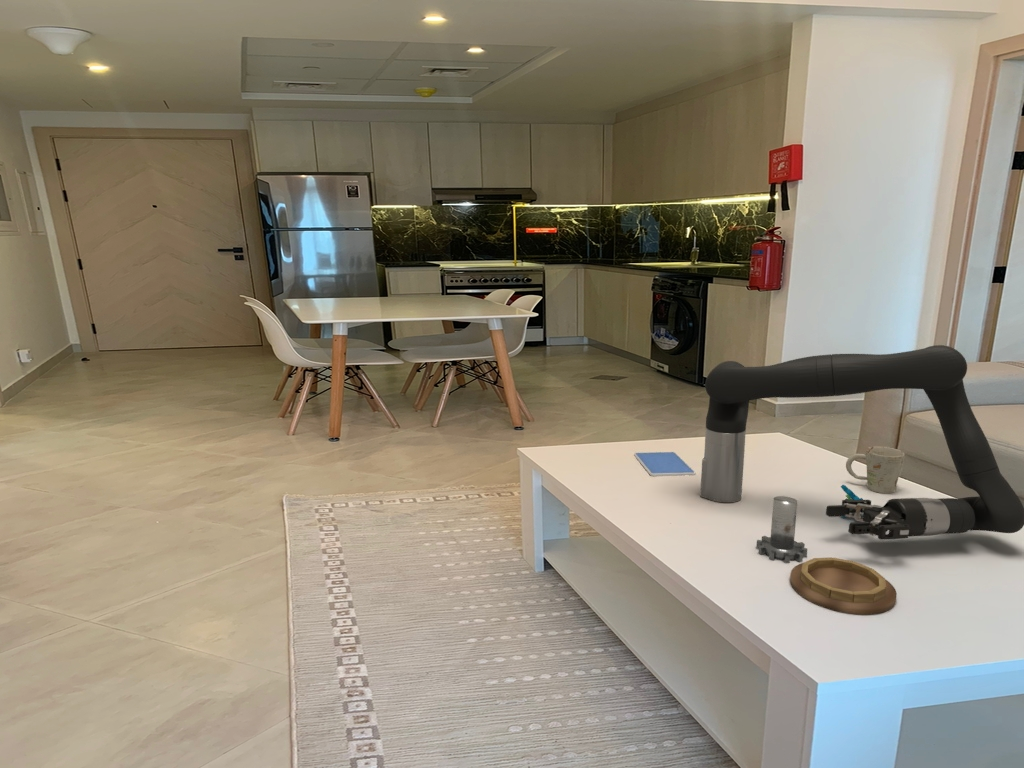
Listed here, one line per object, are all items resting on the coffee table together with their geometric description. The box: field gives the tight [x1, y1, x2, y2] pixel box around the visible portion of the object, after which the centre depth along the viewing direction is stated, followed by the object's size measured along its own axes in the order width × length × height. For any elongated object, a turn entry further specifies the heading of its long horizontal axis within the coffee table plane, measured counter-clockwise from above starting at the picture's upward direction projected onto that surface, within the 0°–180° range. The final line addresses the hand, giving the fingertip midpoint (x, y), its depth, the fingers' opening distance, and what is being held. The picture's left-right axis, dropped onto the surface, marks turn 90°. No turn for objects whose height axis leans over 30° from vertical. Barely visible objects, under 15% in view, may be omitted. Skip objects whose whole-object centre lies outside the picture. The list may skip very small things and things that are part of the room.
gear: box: [840, 484, 864, 519], centre depth 149 cm, size 11×6×10 cm
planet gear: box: [755, 495, 808, 564], centre depth 132 cm, size 9×9×11 cm
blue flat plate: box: [633, 451, 696, 477], centre depth 187 cm, size 19×13×1 cm, turn 4°
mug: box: [845, 446, 905, 494], centre depth 167 cm, size 8×13×10 cm, turn 58°
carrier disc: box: [789, 557, 897, 616], centre depth 118 cm, size 17×17×3 cm
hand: (838, 519), depth 132 cm, fingers open, 8 cm apart
